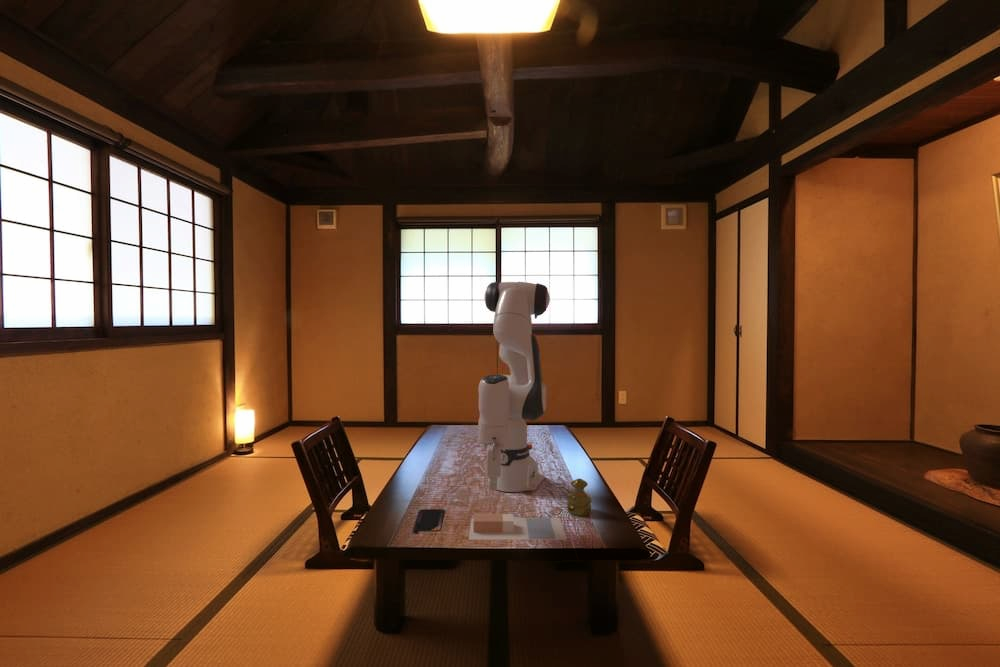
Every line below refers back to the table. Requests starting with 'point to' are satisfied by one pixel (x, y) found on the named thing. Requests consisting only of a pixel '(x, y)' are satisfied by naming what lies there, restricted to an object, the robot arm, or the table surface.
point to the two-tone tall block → (493, 523)
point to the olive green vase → (579, 499)
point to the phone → (428, 520)
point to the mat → (525, 530)
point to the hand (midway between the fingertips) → (493, 483)
